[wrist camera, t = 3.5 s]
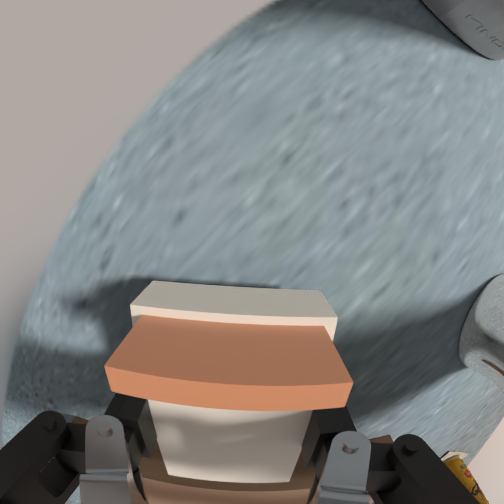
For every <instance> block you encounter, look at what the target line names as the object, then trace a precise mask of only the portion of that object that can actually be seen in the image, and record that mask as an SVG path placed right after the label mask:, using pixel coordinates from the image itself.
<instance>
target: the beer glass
mask: <svg viewBox="0 0 504 504" xmlns="http://www.w3.org/2000/svg"><path fill="white" fill-rule="evenodd" d="M459 357H460V359H461V361H462V363H463V364H464V365H466V366H467V367H469V368H471V369H472V370H474V371H476V372H478V373H480V374H481V375H483V376H485V377H487V378H488V379H489V380H491V381H492V382H493V383H494V384H496V385H497V386H498V387H499V388H500V389H501V391H502V392H503V393H504V274H501V275H499V276H497V277H495V278H494V279H493V280H491V281H490V282H489V283H488V284H487V285H486V286H485V288H484V289H483V290H482V291H481V293H480V294H479V296H478V297H477V299H476V300H475V302H474V304H473V305H472V307H471V309H470V311H469V313H468V316H467V318H466V320H465V323H464V326H463V328H462V332H461V336H460V340H459Z"/></svg>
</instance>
